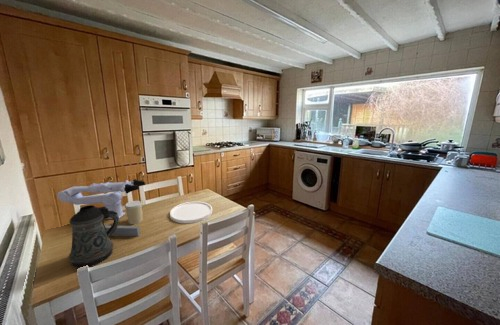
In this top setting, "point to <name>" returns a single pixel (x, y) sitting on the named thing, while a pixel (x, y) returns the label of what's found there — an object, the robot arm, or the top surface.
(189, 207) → the plate
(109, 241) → the beer stein
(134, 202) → the coffee cup
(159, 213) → the top surface
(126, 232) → the plank
